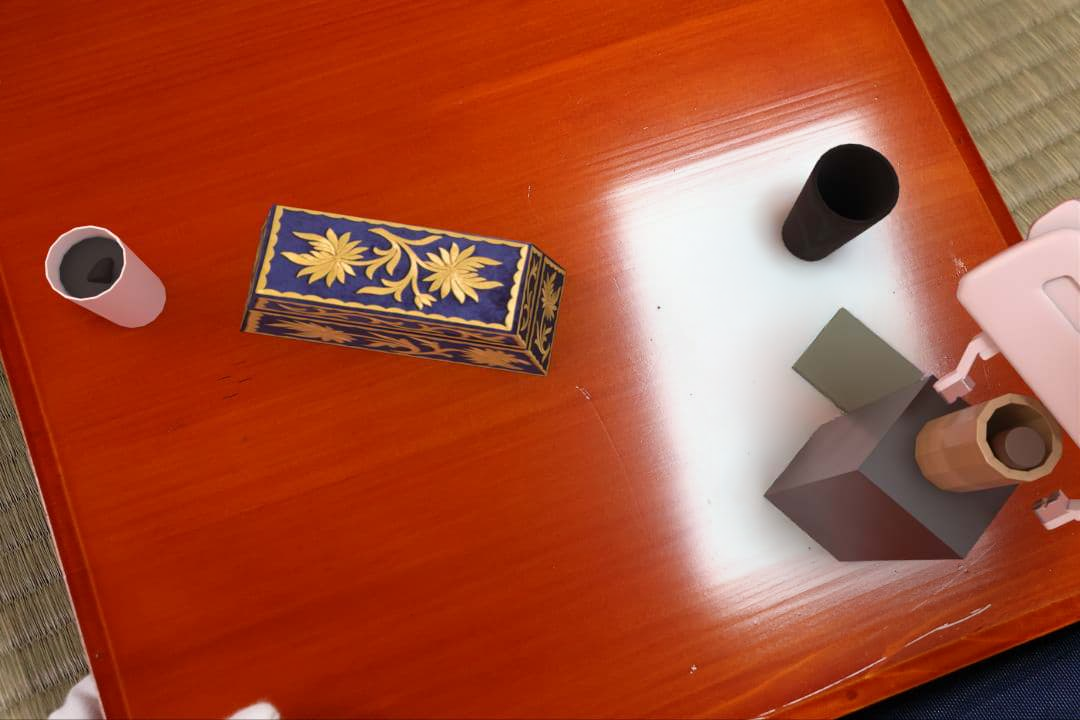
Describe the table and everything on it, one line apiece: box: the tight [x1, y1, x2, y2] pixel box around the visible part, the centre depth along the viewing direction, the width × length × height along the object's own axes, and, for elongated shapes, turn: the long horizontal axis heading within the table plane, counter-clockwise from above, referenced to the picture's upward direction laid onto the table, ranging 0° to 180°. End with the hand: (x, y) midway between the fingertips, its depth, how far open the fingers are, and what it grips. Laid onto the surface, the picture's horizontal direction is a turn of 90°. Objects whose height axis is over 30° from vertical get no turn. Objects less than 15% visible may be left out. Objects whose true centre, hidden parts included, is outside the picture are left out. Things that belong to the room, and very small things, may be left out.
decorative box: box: [239, 204, 567, 378], centre depth 79 cm, size 11×30×9 cm, turn 82°
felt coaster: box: [791, 306, 926, 414], centre depth 83 cm, size 10×8×1 cm
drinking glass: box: [44, 225, 167, 329], centre depth 77 cm, size 7×7×10 cm
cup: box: [780, 142, 901, 262], centre depth 81 cm, size 8×8×12 cm
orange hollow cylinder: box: [915, 392, 1063, 493], centre depth 55 cm, size 5×5×8 cm
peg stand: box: [763, 374, 1045, 563], centre depth 65 cm, size 9×9×31 cm
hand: (989, 454), depth 54 cm, fingers open, 8 cm apart
